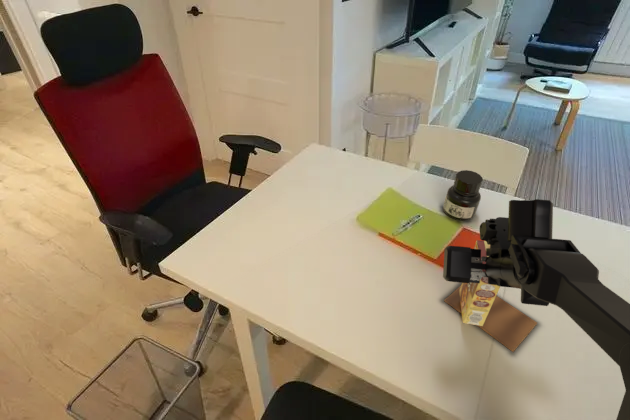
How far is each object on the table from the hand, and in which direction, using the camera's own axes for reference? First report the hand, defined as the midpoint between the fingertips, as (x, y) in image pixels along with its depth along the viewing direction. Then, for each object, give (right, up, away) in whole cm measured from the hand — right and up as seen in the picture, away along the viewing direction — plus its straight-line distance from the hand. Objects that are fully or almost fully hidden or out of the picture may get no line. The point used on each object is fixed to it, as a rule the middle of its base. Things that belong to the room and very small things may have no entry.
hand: (483, 266), depth 73 cm
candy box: (0, -10, +6) cm, 11 cm away
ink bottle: (+9, +10, +35) cm, 37 cm away
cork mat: (+5, -11, +8) cm, 14 cm away
